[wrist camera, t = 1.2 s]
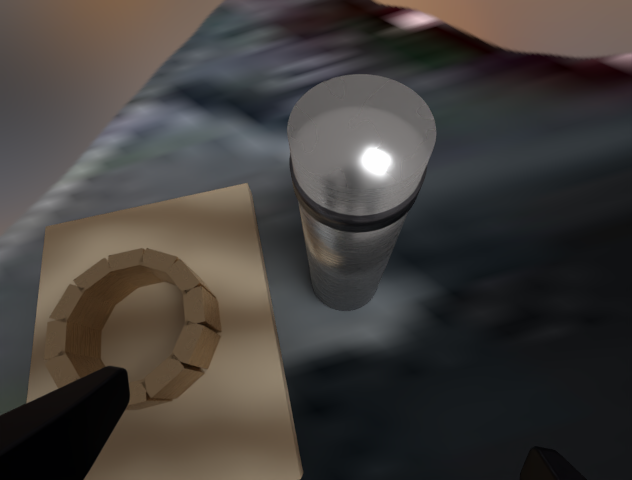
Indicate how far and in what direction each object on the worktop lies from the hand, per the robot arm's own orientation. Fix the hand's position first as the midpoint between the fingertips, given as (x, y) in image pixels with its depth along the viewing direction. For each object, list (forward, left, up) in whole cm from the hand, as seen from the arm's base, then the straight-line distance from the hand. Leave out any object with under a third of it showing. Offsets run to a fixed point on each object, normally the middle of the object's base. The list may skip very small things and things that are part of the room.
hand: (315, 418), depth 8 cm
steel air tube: (+7, -3, -13) cm, 16 cm away
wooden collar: (+6, +9, -12) cm, 16 cm away
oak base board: (+6, +9, -13) cm, 17 cm away
